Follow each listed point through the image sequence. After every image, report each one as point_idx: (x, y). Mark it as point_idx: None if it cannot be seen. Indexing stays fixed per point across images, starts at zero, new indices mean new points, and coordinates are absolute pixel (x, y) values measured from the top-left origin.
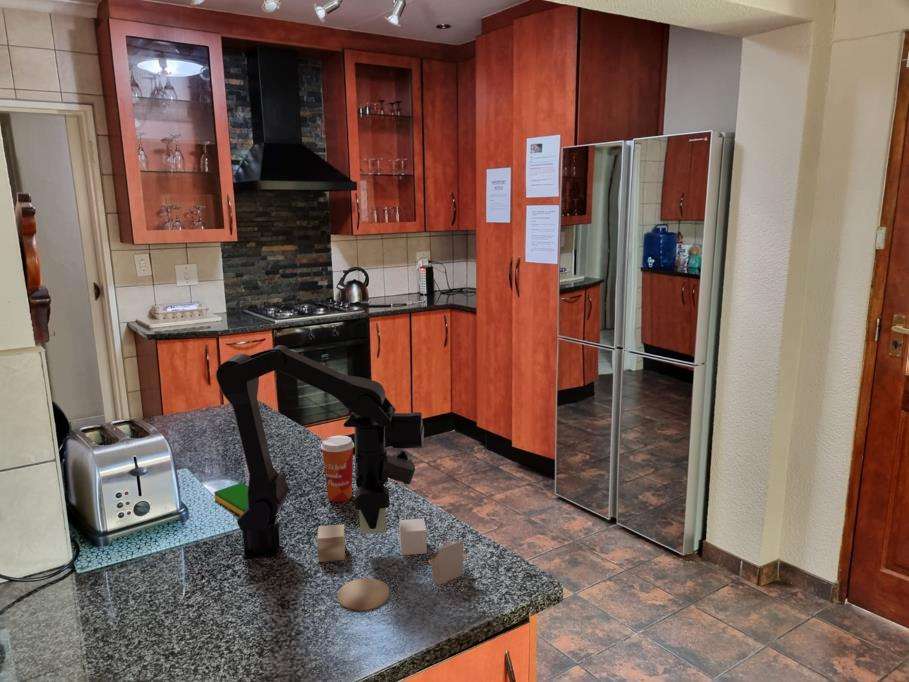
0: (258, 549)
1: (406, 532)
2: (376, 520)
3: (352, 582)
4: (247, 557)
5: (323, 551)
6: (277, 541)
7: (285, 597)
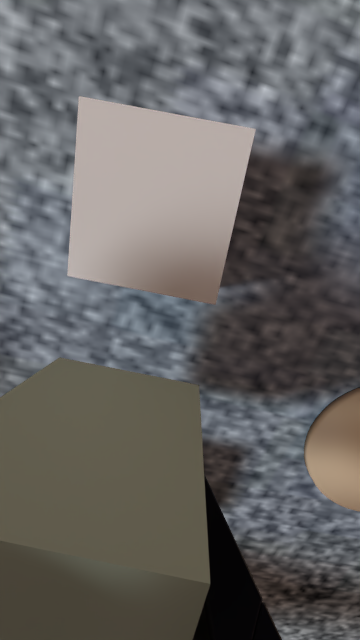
0: None
1: (221, 270)
2: (226, 530)
3: (317, 468)
4: None
5: None
6: None
7: (289, 588)
